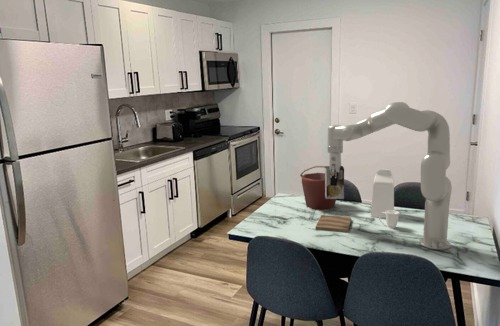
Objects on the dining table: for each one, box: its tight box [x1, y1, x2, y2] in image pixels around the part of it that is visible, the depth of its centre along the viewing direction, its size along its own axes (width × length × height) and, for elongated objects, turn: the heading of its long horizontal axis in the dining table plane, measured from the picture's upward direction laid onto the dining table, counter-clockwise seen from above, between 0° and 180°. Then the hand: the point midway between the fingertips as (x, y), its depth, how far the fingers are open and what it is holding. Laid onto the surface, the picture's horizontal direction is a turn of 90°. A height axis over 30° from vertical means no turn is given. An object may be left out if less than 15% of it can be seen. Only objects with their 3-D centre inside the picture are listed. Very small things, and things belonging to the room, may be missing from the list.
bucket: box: [300, 165, 337, 211], centre depth 233 cm, size 24×22×25 cm
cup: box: [378, 209, 400, 230], centre depth 195 cm, size 7×10×8 cm
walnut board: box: [315, 214, 352, 233], centre depth 201 cm, size 20×16×2 cm
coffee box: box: [324, 165, 345, 200], centre depth 197 cm, size 9×6×16 cm
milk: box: [370, 168, 395, 219], centre depth 213 cm, size 12×12×26 cm
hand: (334, 183), depth 197 cm, fingers closed on coffee box, 7 cm apart
